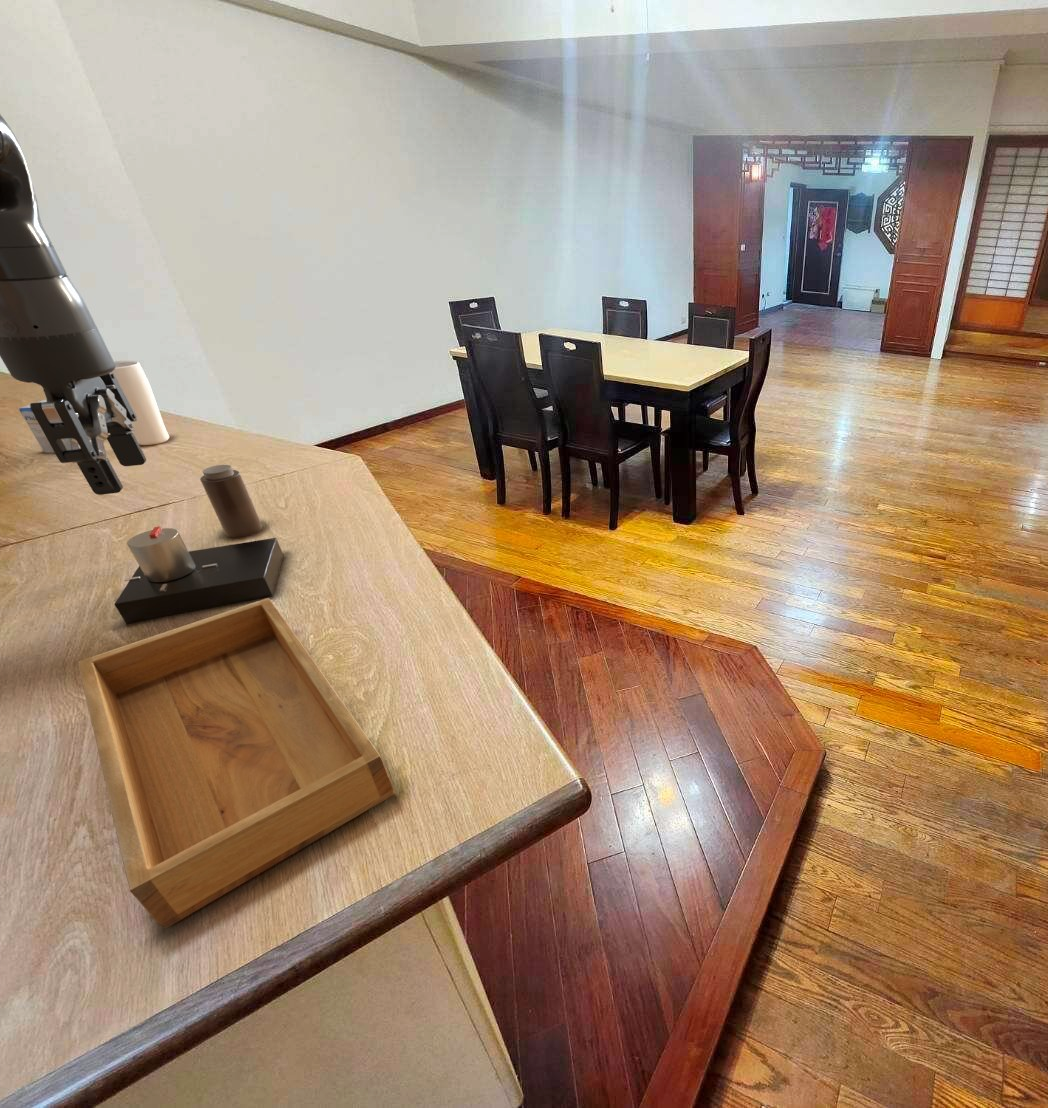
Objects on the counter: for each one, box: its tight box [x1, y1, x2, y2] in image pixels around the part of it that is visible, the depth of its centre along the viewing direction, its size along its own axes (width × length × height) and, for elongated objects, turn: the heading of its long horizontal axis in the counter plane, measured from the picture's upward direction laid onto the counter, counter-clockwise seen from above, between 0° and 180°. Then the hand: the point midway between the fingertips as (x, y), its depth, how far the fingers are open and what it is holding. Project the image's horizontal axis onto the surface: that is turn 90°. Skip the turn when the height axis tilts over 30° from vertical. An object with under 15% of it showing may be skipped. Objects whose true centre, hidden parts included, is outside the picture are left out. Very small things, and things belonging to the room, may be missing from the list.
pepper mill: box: [199, 464, 264, 539], centre depth 85 cm, size 4×4×10 cm
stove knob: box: [126, 525, 196, 582], centre depth 71 cm, size 5×5×5 cm
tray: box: [77, 597, 395, 929], centre depth 52 cm, size 31×15×6 cm, turn 48°
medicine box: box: [18, 398, 91, 454], centre depth 111 cm, size 8×4×9 cm, turn 6°
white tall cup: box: [112, 360, 170, 446], centre depth 113 cm, size 7×7×15 cm
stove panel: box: [114, 537, 285, 625], centre depth 74 cm, size 14×11×3 cm
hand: (123, 477), depth 66 cm, fingers open, 8 cm apart
